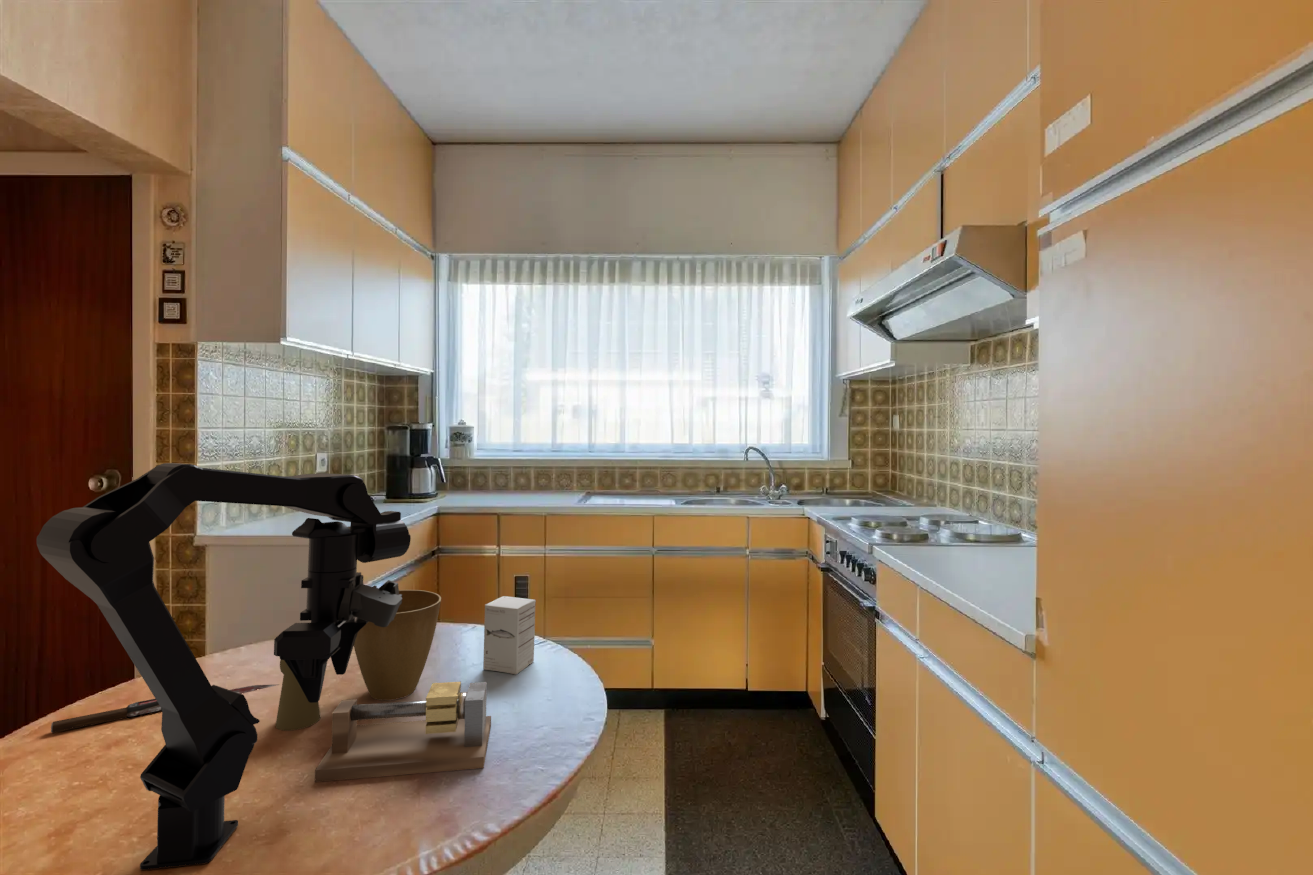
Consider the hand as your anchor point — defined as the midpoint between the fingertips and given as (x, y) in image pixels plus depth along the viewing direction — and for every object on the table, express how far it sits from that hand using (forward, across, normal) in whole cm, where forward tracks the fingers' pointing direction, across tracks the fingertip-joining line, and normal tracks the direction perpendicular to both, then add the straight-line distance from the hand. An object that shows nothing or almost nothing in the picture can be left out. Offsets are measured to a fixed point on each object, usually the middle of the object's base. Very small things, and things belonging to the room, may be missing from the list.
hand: (328, 687), depth 79 cm
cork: (+12, +16, +10) cm, 22 cm away
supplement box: (+11, +35, -21) cm, 42 cm away
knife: (+12, +24, +31) cm, 41 cm away
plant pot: (+11, +26, -2) cm, 28 cm away
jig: (+11, +5, -10) cm, 16 cm away
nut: (+8, +5, -14) cm, 17 cm away
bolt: (+10, +5, -10) cm, 15 cm away
